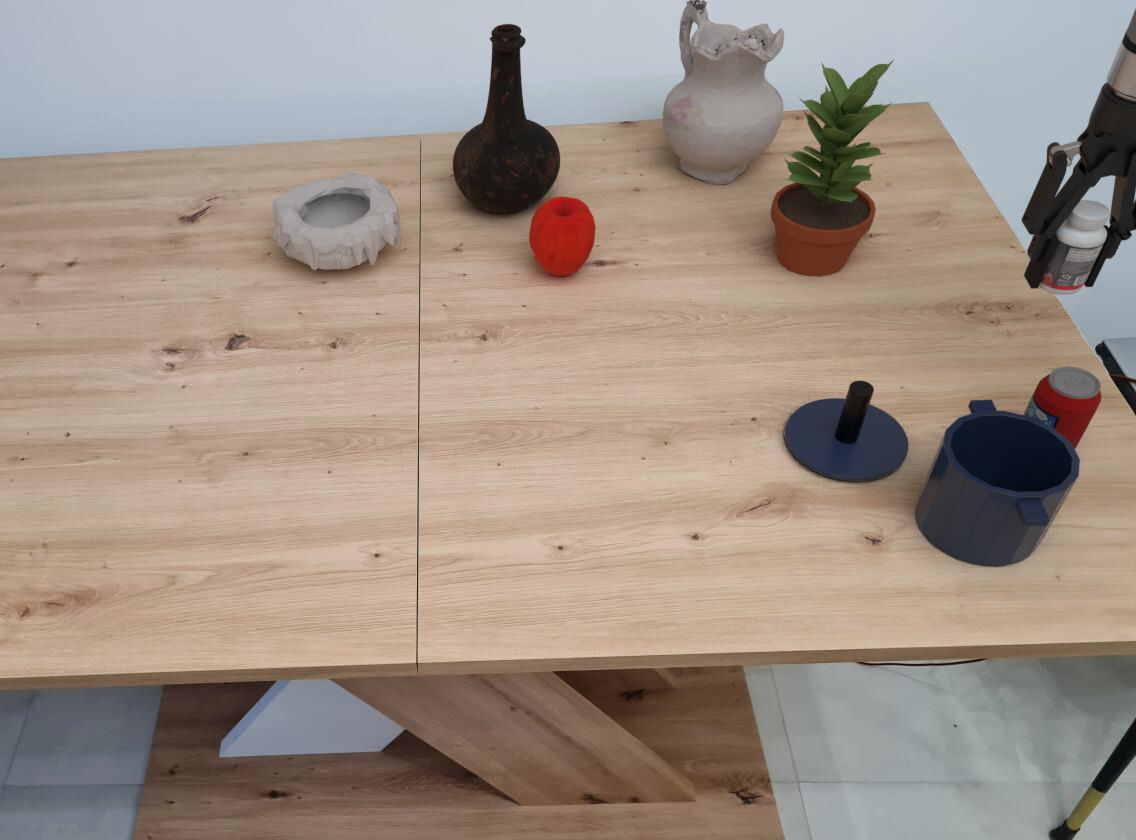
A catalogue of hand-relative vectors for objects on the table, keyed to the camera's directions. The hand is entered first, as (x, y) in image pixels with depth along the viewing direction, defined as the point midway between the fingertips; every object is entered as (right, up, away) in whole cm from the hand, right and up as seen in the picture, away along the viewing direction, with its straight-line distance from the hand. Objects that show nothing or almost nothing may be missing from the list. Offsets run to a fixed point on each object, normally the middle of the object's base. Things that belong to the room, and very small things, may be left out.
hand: (1057, 280), depth 124 cm
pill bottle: (0, 0, 0) cm, 1 cm away
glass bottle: (-61, +27, +54) cm, 86 cm away
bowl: (-88, +16, +47) cm, 101 cm away
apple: (-54, +11, +39) cm, 67 cm away
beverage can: (+1, -20, +6) cm, 21 cm away
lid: (-21, -18, +9) cm, 29 cm away
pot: (-10, -29, -1) cm, 30 cm away
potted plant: (-16, +12, +37) cm, 42 cm away
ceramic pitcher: (-25, +35, +57) cm, 72 cm away
